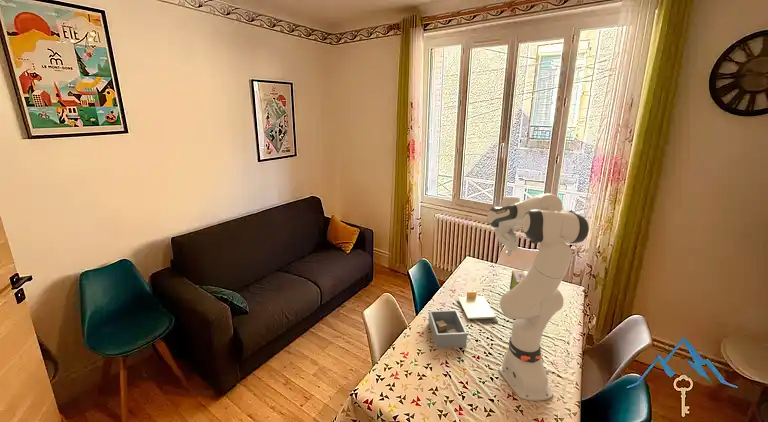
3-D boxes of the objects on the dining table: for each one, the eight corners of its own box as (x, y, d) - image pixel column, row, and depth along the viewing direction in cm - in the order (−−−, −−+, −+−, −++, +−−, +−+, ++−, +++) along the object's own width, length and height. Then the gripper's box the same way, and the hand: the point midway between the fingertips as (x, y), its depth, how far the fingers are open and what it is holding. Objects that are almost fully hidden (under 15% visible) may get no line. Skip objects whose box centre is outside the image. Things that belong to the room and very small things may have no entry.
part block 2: (458, 341, 160) (459, 333, 158) (451, 343, 158) (452, 336, 157) (453, 335, 163) (454, 328, 162) (446, 338, 161) (447, 331, 160)
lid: (495, 319, 175) (496, 309, 173) (467, 321, 174) (468, 310, 172) (483, 299, 193) (484, 290, 191) (457, 300, 192) (458, 291, 190)
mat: (497, 322, 174) (498, 321, 174) (467, 323, 173) (467, 322, 173) (484, 300, 193) (484, 299, 193) (456, 301, 192) (456, 300, 192)
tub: (466, 347, 156) (467, 333, 154) (436, 349, 155) (437, 334, 153) (455, 323, 173) (456, 309, 171) (428, 324, 172) (429, 311, 170)
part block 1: (446, 331, 166) (447, 325, 164) (439, 333, 164) (439, 326, 163) (442, 327, 169) (443, 320, 168) (435, 328, 168) (435, 321, 167)
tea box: (531, 307, 186) (535, 284, 182) (512, 305, 188) (515, 282, 184) (526, 292, 200) (530, 270, 196) (508, 291, 202) (511, 269, 198)
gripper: (523, 234, 162) (519, 260, 166) (505, 219, 181) (502, 243, 185) (510, 234, 161) (506, 260, 166) (493, 219, 181) (491, 243, 185)
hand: (504, 251), depth 176 cm, fingers open, 8 cm apart
